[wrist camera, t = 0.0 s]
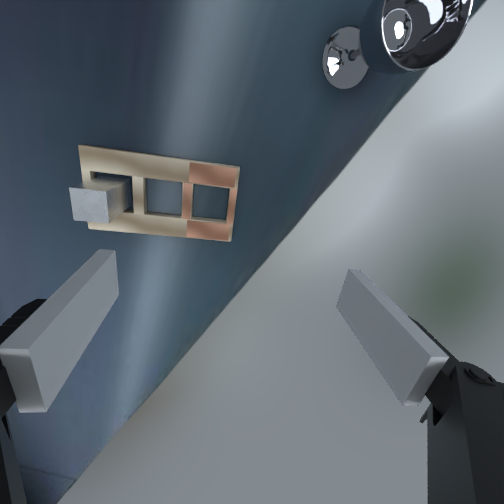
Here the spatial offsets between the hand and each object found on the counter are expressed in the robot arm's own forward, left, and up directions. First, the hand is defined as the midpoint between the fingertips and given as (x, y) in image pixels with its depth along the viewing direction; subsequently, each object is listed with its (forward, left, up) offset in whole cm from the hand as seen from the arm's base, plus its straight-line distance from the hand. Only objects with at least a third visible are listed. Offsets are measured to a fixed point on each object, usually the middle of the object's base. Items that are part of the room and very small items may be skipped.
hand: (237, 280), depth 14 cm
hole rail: (+3, -9, -29) cm, 30 cm away
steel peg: (+3, -16, -29) cm, 33 cm away
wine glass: (-19, +15, -29) cm, 38 cm away
